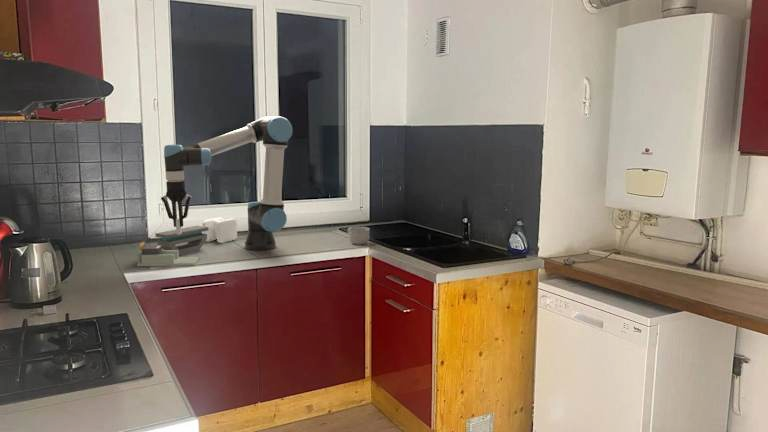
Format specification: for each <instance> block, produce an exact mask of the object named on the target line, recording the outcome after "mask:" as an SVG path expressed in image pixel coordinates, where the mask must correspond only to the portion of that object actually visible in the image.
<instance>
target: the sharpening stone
mask: <svg viewBox="0 0 768 432" xmlns="http://www.w3.org/2000/svg"><path fill="white" fill-rule="evenodd" d="M208 230H209V227H203V225H194V226H193V225H192V226H188V227H183V228H182V227H181V232H182V233H181V234H180V235H177V230H176V229H172V230H171V229H170V230H167V231H166V230H165V231H161V232H156V233H155V236H154V237H155V238H161V239H157V246H162V250H179V257H182V256H186V255H190V254H195V253H199V251H201V249H202V247H203V246H204V244H205V243H206V242H207V241H206V240H207V234H203V231H208ZM183 243H185V244H183ZM178 244H181V245H178Z"/></svg>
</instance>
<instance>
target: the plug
mask: <svg viewBox="0 0 768 432" xmlns="http://www.w3.org/2000/svg"><path fill="white" fill-rule="evenodd" d="M162 250H163V249H162V246H159V245H155V246H154V245H152V246H148V245H145V247H144V248H143V249H142V252H143V255H157V254H162Z"/></svg>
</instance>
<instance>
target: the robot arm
mask: <svg viewBox="0 0 768 432" xmlns="http://www.w3.org/2000/svg"><path fill="white" fill-rule="evenodd" d="M293 131H294V130H293V126H292V124H291V122H290V120H289V119H287V118H286V117H283V116H280V115H274V116H271V115H270V116H268V115H267V116H263V117H261V118H259V119H257V120H255V121H252V122H249V123H247V124H246V126H244V127H242V128H239V129H236V130H233V131H230V132H227V133H225V134H222V135H217V136H215V137H212V138H210V139H207V140H204V141H201V142H198V143H195V144H193V145H189V146H184V147H183V145H181V144H166V145H164V148H163V157H164V166H165V180H166V185H165V186H166V193H165V195H163V196H161V197H160V200H161V201H162V203H163V205H164V208H165V211H166V213H167V217H168V219H170V220H172V221H173V227H174V228H176V229H175V230H177V235H180V234H181V233H182V232H181V229H182V227H184V219H186V218H188V214H189V208H190V203H191V200H192V198H193V196H192V195H190V194H187V191H186V181H185V170H184V169H185V168H184V167H197V166H209V165H211V163H212V157H213V156H215V155H219V154H221V153H224V152H227V151H230V150H232V149H235V148H238V147H241V146H244V145H247V144H249V143H253V144H256V143H259V142H262V145H263V146H264V147H265V158H264V172H263V174H264V176H263V189H262V191H263V192H262V199H261V200H259V201H250V202H248V203H247V230H248V232H247V235H246V238H245V242H244V248H245V249H247V250H252V251H253V250H254V251H265V250H272V249H275V248H276V247H277V244H276V243H277V242H276V238H275V236H274V233H276V232H279V231H280V230H282V229H283V228H284V227H285V225H286V223H287V214H286V212H285V211H284V207H285V204H284V202H283V201H282V190H283V176H284V158H285V157H284V156H285V150H286V148H288V146H289V140H290V139H291V137H292V136H293ZM184 199H185V206H184V209H183V200H184ZM168 200H169V201H170V202H171V207H170V204H169V201H168ZM177 207H178V208H177ZM171 209H172V210H171ZM177 209H178V212H177ZM183 210H184V211H183ZM177 213H178V214H177Z"/></svg>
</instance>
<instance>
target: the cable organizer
mask: <svg viewBox="0 0 768 432" xmlns="http://www.w3.org/2000/svg"><path fill="white" fill-rule="evenodd" d="M202 226H203V227H209V230H208V231H203V232H202V234H207V240H206V241H205V242H208V243H211V242H213V241H215V240H216V239H217V240H216V242H218V243H219V244H225V243H227V242H233V241H235V240H236V239H237V238H238V220H237V219H236V218H233V217H232V218H229V219H228V218H227V219H225V218H224V217H215V218H208V219H206V220H204V221H203V222H202ZM232 240H233V241H232Z"/></svg>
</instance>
